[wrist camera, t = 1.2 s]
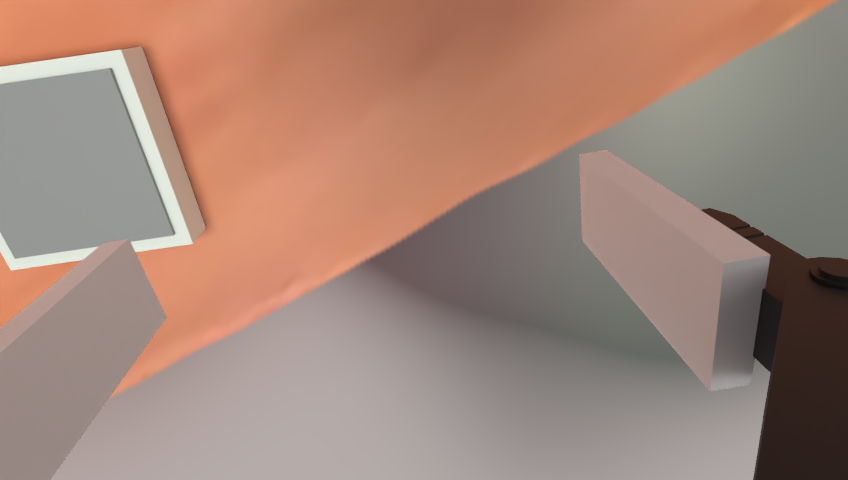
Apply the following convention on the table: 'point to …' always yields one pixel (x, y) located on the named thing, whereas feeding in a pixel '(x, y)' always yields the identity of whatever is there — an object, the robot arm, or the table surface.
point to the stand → (88, 161)
